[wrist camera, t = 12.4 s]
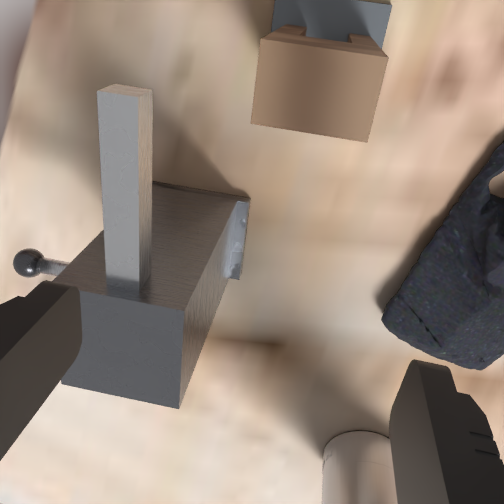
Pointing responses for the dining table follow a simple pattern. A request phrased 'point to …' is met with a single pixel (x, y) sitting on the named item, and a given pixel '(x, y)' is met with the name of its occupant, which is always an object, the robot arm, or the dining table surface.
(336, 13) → the felt pad
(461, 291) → the dark slate chunk
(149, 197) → the vise stand
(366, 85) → the slotted wooden collar
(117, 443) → the dining table surface
